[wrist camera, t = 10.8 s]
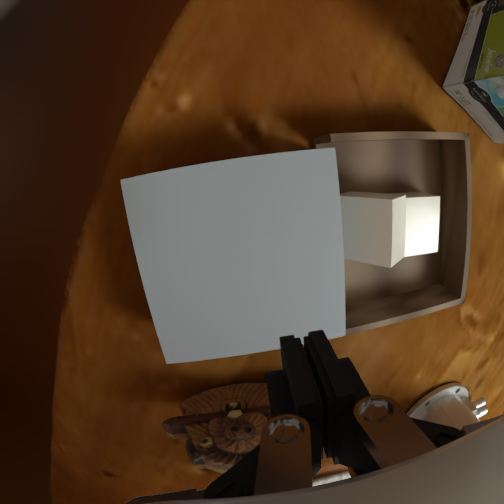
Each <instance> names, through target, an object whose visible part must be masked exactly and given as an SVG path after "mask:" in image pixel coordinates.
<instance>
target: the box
mask: <svg viewBox="0 0 504 504" xmlns="http://www.w3.org/2000/svg"><path fill="white" fill-rule="evenodd" d="M313 141H314V149H322V148H335V151H336V160H337V170H338V180H339V190H340V194H342V193H346V192H350V191H356V192H372V193H386V194H387V193H407V192H424V193H429V194H433V195H437V196H440V221H439V240H438V252H435V253H428V254H421V255H414V256H408V257H403V258H402V259H401V260H400V261H399V262H397V263H396V264H395V265H394V266H393V267H391V268H389V267H384V266H378V265H373V264H368V263H363V262H358V261H353V260H347V259H344V269H345V316H346V333H345V335H349V334H353V333H357V332H361V331H366V330H370V329H374V328H378V327H382V326H386V325H389V324H393V323H397V322H401V321H404V320H408V319H411V318H415V317H418V316H422V315H425V314H429V313H432V312H435V311H439V310H442V309H445V308H448V307H451V306H455V305H458V304H461V303H464V300H465V293H466V286H467V277H468V268H469V257H470V244H471V223H472V177H471V157H470V144H469V133H454V132H421V131H389V132H355V133H336V134H327V135H323V136H318V137H314V138H313Z"/></svg>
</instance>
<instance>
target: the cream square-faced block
mask: <svg viewBox="0 0 504 504" xmlns="http://www.w3.org/2000/svg"><path fill="white" fill-rule="evenodd" d="M387 194H399V195H406V229H405V253H404V257H408V256H414V255H421V254H428V253H435V252H438V240H439V221H440V196H437V195H433V194H429V193H424V192H407V193H387Z"/></svg>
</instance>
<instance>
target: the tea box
mask: <svg viewBox="0 0 504 504" xmlns="http://www.w3.org/2000/svg"><path fill="white" fill-rule="evenodd" d="M443 89H444V90H445V91H446V92H447V93H448V94H449V95H450V96H452V97H453V98H454V99H455V100H456V101H457V103H458V104H459V105H460V106H461V107H462V108H463V109H464V110H465V111H466V112H467V113H468V114H469V115H470V116H471V117H472V118H473V119H474V120H475V121H476V123H477V124H478V125H479V126H480V127H481V128H482V129H483V130H484V132H485V133H486V134H487V135H488V136H489V137H490V138H491V139H492V141H493V142H496V143H504V0H485V1H482V2H480V3H478V4H476V5H474V6H472V7H471V9H470V12H469V16H468V19H467V22H466V25H465V28H464V31H463V33H462V36H461V39H460V42H459V45H458V47H457V50H456V53H455V56H454V58H453V61H452V64H451V66H450V69H449V71H448V74H447V76H446V79H445V81H444V84H443Z"/></svg>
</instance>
